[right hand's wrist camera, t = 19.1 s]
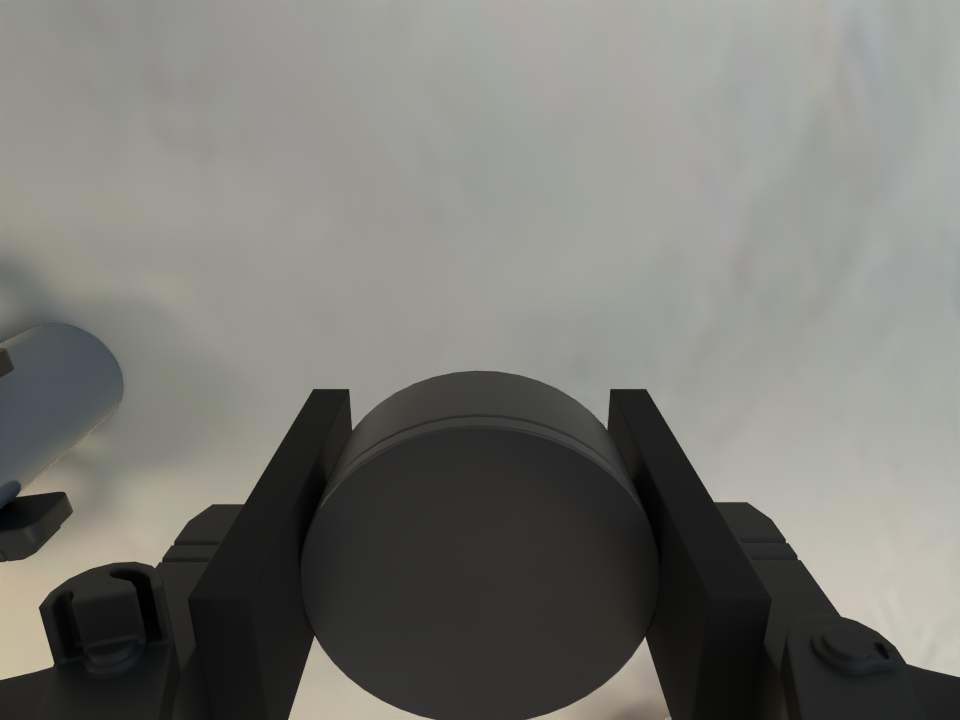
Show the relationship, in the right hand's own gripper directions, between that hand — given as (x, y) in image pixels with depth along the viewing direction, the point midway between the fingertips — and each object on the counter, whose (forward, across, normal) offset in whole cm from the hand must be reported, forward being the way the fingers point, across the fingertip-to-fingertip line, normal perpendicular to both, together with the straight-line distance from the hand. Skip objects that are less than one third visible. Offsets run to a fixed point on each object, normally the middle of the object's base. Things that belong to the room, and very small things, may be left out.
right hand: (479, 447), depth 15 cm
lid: (-4, 0, 0) cm, 4 cm away
